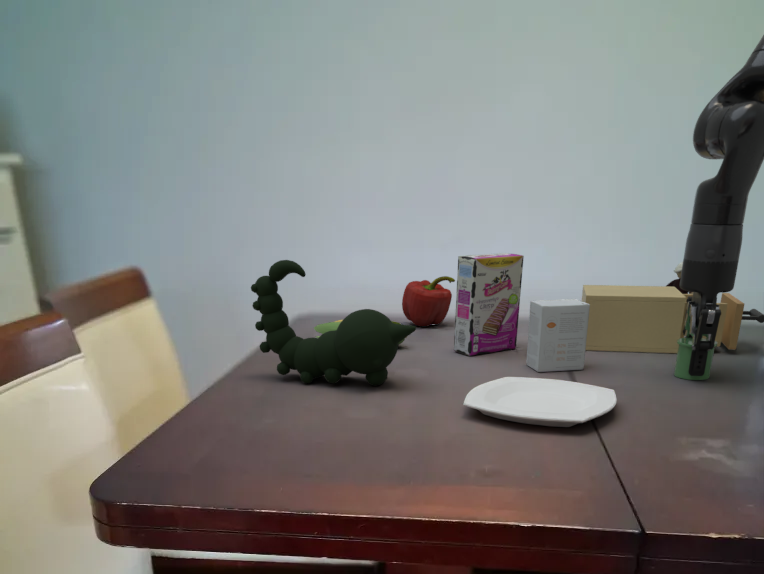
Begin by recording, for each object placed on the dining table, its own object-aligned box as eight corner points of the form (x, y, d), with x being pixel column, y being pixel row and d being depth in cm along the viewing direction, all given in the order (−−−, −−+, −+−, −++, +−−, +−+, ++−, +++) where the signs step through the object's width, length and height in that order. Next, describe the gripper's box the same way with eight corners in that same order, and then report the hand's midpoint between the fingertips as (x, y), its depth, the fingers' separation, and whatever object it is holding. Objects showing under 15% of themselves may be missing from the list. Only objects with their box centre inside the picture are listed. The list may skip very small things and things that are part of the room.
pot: (707, 372, 118) (713, 338, 116) (714, 381, 113) (721, 345, 111) (669, 370, 119) (674, 336, 117) (674, 379, 114) (680, 344, 112)
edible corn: (399, 351, 134) (399, 326, 132) (307, 341, 142) (306, 317, 141) (412, 346, 138) (412, 321, 136) (322, 336, 147) (321, 313, 145)
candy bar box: (470, 357, 129) (474, 258, 122) (452, 352, 133) (455, 255, 126) (518, 349, 135) (525, 254, 128) (500, 344, 138) (505, 251, 132)
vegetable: (456, 321, 160) (458, 273, 156) (449, 330, 151) (451, 279, 147) (407, 319, 163) (407, 272, 159) (397, 328, 154) (397, 278, 149)
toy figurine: (256, 394, 115) (411, 392, 106) (235, 265, 107) (400, 253, 99) (283, 379, 123) (428, 376, 114) (265, 259, 115) (419, 247, 107)
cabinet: (666, 338, 143) (674, 286, 139) (677, 353, 130) (686, 297, 126) (578, 335, 146) (583, 284, 142) (580, 350, 134) (586, 295, 130)
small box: (570, 362, 125) (576, 298, 121) (584, 370, 120) (591, 303, 116) (524, 364, 124) (529, 299, 119) (537, 372, 119) (542, 305, 114)
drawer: (748, 336, 139) (756, 293, 136) (765, 350, 128) (774, 304, 125) (635, 333, 143) (641, 291, 140) (642, 346, 132) (648, 301, 128)
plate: (592, 442, 88) (594, 426, 87) (444, 419, 97) (444, 404, 96) (629, 401, 103) (630, 388, 102) (498, 385, 112) (499, 372, 111)
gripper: (750, 262, 102) (727, 383, 109) (728, 252, 114) (709, 361, 121) (692, 261, 103) (673, 381, 110) (676, 251, 116) (660, 359, 123)
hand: (692, 370), depth 116 cm, fingers closed on pot, 5 cm apart
